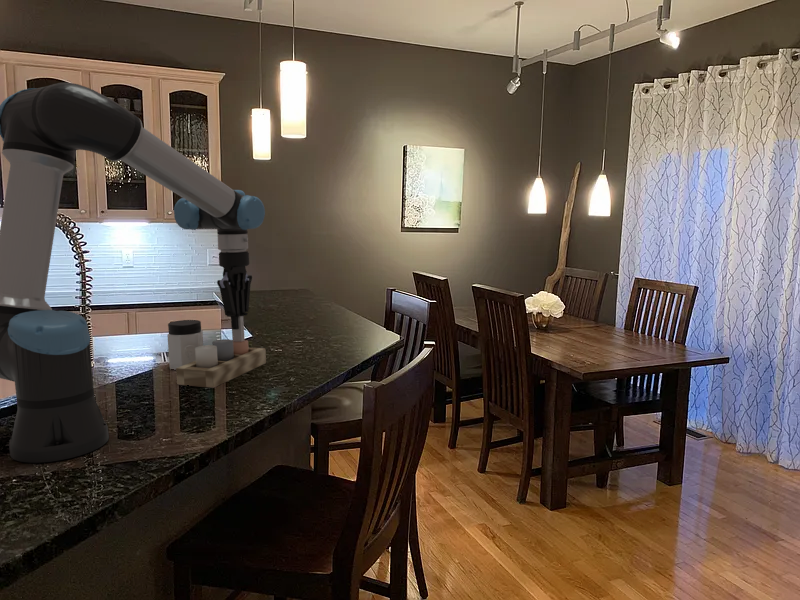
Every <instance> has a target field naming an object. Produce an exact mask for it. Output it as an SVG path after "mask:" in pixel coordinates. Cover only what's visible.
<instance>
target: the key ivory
mask: <svg viewBox="0 0 800 600" xmlns="http://www.w3.org/2000/svg"><path fill="white" fill-rule="evenodd" d="M195 355H196V367H199V368H212V367H215V366H217V365H218V358H217V346H214V345H213V344H211V345H210V344H209V345H207V344H205V345H204V344H203V346H199V347H196V348H195Z"/></svg>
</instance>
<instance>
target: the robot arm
mask: <svg viewBox="0 0 800 600" xmlns="http://www.w3.org/2000/svg"><path fill="white" fill-rule="evenodd" d="M0 137H1V140H2V142H3V143H2V144H3V145H2V151H1V153H2V155H3V156H4V158H5V159H6V161H7V162H9V171H8V178H7V184H6V189H5V197H4V202H3V209H2V215H1V220H0V380H1V379H2V380H6V381H11V382H14V387H15V389H14V390H15V399H16V405H17V411H16V416H15V419H14V425H13V429H12V435H11V436H10V438H9V442H8V447H9V456H10V458H11V459H13V460H14V461H18V462H21V463H31V464H33V463H34V464H38V463H50V462H51V463H52V462H58V461H63V460H68V459H69V460H70V459H73V458H77V457H80V456H83V455H86V454H89V453H91V452H94V451H96V450H98V449H100V448H101V447H103V446H104V445H106V444H107V443H108V441H109V439H110V437H109V435H110V434H109V425H108V424H107V421H106V420H104V416H103V415H102V412H101V409H100V407H99V405H98V403H97V401H96V398H95V391H94V380H93V379H94V378H93V377H94V376H93V368H92V354H91V336H90V335H91V334H90V332H89V327H88V322H87V320H86V319H85V317H83V316H82V315H81V314H79V313H76V312H73V311H67V310H55V309H53V308H52V307H51V306H50V305H49V304H48V302H47V301H46V299H45V295H46V289H47V283H48V277H49V270H50V263H51V257H52V251H53V244H54V240H55V239H54V237H55V232H56V231H55V230H56V225H57V219H58V218H57V217H58V212H59V207H60V199H61V192H62V186H63V179H64V175H65V174H67V173H69V172H70V171H72V170H74V168H75V162H76V161H75V160H76V154H77V151H79V150H80V151H87V152H92V153H96V154H98V155H101V156H102V157H104V158H106V159H108V161H109V160H110V161H111V162H120V161H121V162H123V163H125V164H126V165H128V166H130V167H131V168H133V169H134V170H136V171H138V172H139V173H141V174H143V175H144V176H146V177H148V178H149V179H151V180H153V181H154V182H156V183H158V184H159V185H161V186H162V187H164V188H166V189H167V190H169V191H171V192H172V193H174V194H176V195H178V196H179V197H181V198H180V199H178V200H177V201H176V202H175V204H174V207H173V219H174V220H175V223H176V224H177V226H179V227H180V228H181V229H183V230H192V231H196V230H217V231H216V232H217V249H218V250H219V251H220V252H219V253H218V263H219V264H218V265H219V267H222V268H223V272H222V276H223V277H221V279H218V280H217V281H216V284H217V286H218V288H219V291H220V295H221V301H222V305H223V306H222V307H223V311H224V314H225V316H226V317H229V318H230V323H231V324H230V325H231V335H232V336H231V337H232V339H231V340H233V341H241V342H242V341H244V340H246V338H245V320H244V319H245V318H244V316H248V312H249V309H250V296H251V293H250V292H251V284H252V280H253V276H252V275H248V272H247V269H246V267H249V265H250V253H249V252H248V251H247V250H248V249H249V236H248V230H254V229H258V228H259V227H260V226H261V225H262V224H263V223H264V219H265V216H266V209H265V205H264V202H263V201H262V200H261V199H260V198H259V197H257V196H254V195H249V194H246V193H245V192H244V191H243V190H241V189H233V188H231V187H230V186H228V185H227V184H225V182H223V181H222V180H220V179H219V178H217V177H216V176H214V175H213V174H211V173H209V172H208V171H206V170H205V169H204V168H203V167H202V166H199V165H198V164H197V163H196V162H194V161H192V160H191V159H189V158H188V157H186V156H185V155H183V153H180V152H179V151H178V150H176V149H175V148H173V147H172V146H171V145H169V144H168V143H166V142H165V141H163V140H162V139H160V138H159V137H158V136H157V135H155V134H153V133H152V132H150V131H149V130H147V129H146V128H145V127H143V123H142V120H141V119H140V118H139V116H137V115H135V114H134V113H132V112H131V111H129V110H128V109H127V108H125V107H124V106H122V105H121V104H120V103H117V102H116V101H115V100H113V99H111V98H110V97H107V96H105V95H104V94H102V93H100V92H98V91H96V90H94V89H92V88H90V87H87V86H84V85H81V84H78V83H73V82H58V83H52V84H50V85H46V86H42V87H38V88H37V87H36V88H35V87H32V88H26V89H22V90H19V91H17V92H15V93H13V94H11V95H9V96H8V97H6V98H5V99H4V100H3V101H2V102H1V103H0Z"/></svg>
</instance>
